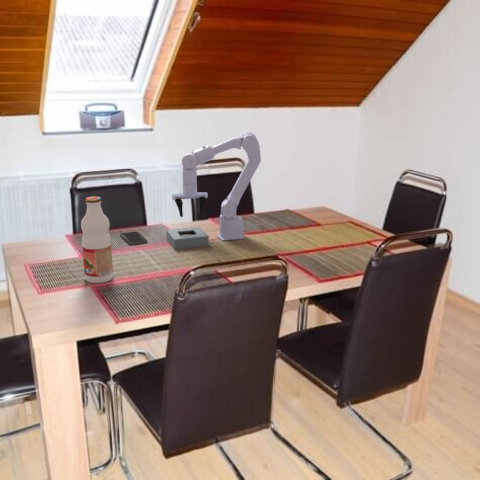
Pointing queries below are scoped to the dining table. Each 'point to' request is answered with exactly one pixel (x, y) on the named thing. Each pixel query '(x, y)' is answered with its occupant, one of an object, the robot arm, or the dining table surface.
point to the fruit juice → (96, 243)
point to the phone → (133, 238)
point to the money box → (187, 237)
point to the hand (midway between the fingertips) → (190, 215)
